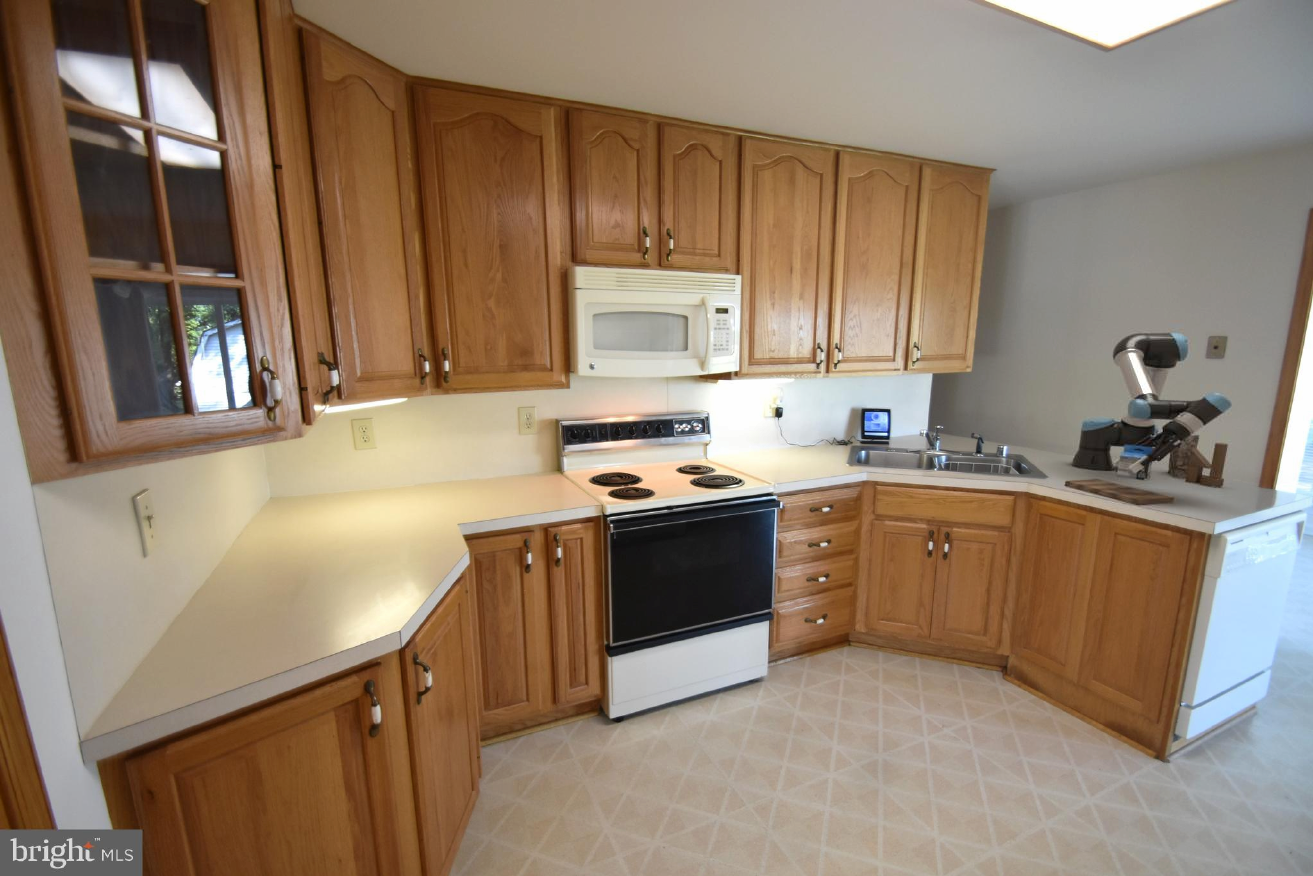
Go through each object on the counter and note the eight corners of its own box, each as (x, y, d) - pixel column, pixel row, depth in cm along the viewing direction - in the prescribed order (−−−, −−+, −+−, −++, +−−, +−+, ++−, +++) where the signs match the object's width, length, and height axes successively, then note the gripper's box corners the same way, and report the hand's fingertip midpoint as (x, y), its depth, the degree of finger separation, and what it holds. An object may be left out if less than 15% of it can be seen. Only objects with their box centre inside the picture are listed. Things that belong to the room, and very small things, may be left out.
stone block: (1194, 479, 228) (1202, 434, 225) (1173, 478, 231) (1181, 432, 228) (1181, 473, 240) (1189, 429, 237) (1161, 471, 243) (1168, 428, 240)
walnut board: (1064, 485, 218) (1065, 480, 218) (1096, 483, 221) (1096, 478, 221) (1138, 505, 191) (1139, 499, 191) (1172, 502, 194) (1173, 497, 194)
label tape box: (1116, 476, 203) (1120, 445, 201) (1119, 475, 205) (1124, 444, 203) (1146, 481, 195) (1151, 448, 193) (1149, 480, 198) (1155, 447, 196)
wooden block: (1190, 481, 226) (1197, 439, 223) (1222, 487, 216) (1231, 444, 213) (1184, 481, 225) (1191, 440, 222) (1216, 488, 215) (1225, 444, 212)
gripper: (1154, 416, 204) (1100, 455, 211) (1196, 423, 184) (1135, 466, 190) (1168, 430, 204) (1114, 468, 210) (1211, 439, 184) (1150, 481, 190)
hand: (1124, 467), depth 200 cm, fingers closed on label tape box, 8 cm apart
